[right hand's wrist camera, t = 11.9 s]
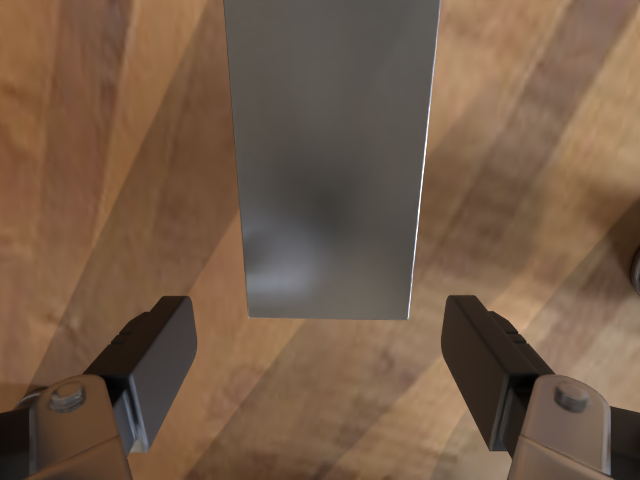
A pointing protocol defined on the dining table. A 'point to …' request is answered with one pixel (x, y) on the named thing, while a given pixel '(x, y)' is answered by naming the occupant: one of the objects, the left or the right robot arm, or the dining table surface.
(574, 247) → the dining table surface
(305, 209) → the bar
